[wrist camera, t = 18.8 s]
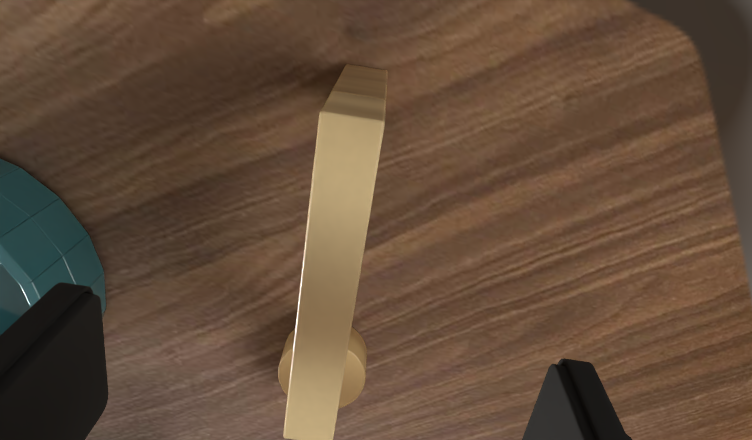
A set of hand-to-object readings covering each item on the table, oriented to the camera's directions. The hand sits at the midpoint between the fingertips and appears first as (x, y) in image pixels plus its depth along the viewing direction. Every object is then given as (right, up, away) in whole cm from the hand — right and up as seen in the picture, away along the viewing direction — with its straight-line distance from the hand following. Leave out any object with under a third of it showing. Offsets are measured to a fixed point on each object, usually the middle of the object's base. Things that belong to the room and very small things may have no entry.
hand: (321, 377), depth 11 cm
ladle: (-1, +2, +15) cm, 15 cm away
